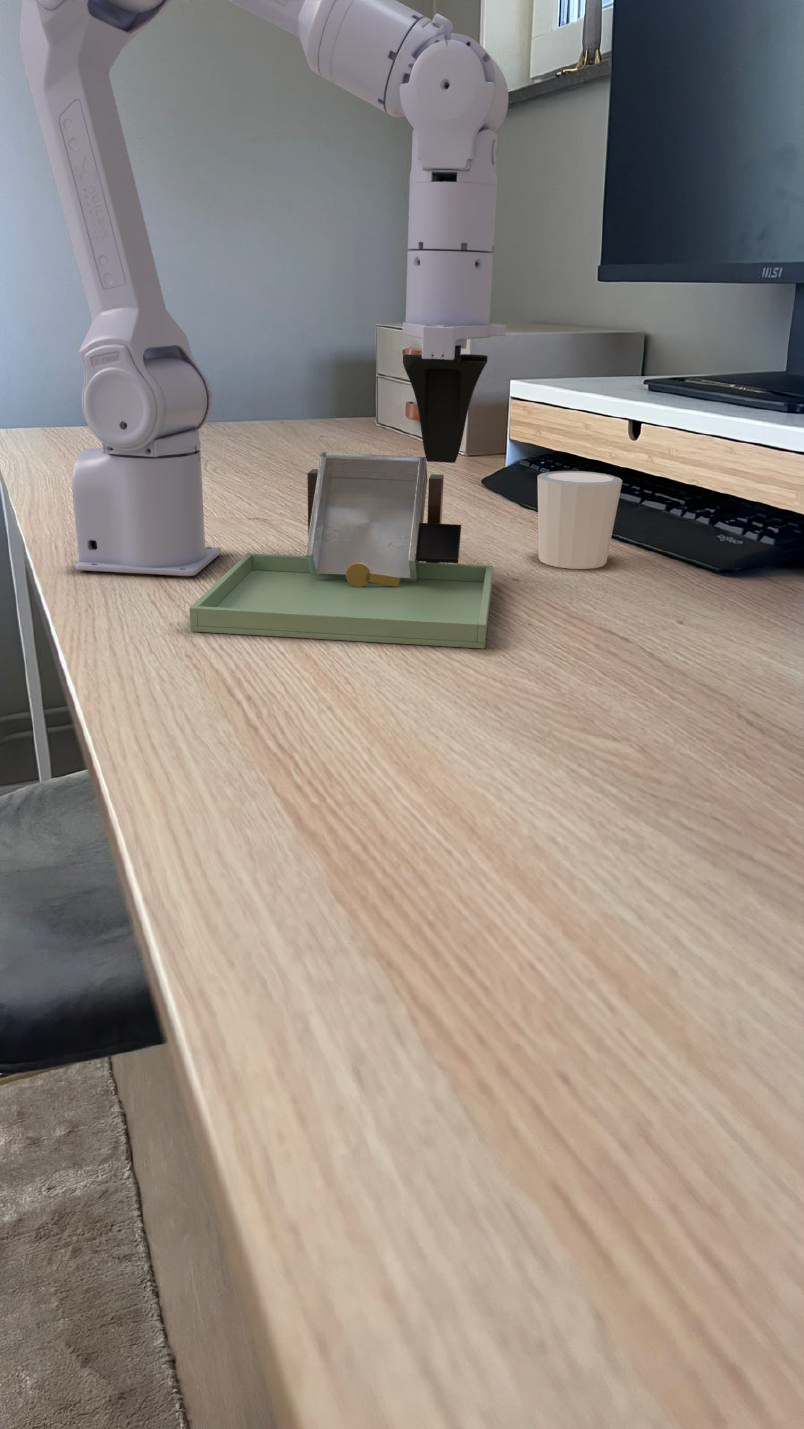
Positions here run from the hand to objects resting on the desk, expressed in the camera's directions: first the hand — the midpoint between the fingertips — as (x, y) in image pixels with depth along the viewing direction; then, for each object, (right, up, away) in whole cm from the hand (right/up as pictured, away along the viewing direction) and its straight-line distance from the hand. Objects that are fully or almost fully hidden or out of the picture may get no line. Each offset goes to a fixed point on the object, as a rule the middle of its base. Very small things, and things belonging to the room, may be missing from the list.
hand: (441, 461), depth 74 cm
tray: (-6, -11, -1) cm, 12 cm away
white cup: (+12, -5, +13) cm, 18 cm away
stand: (-5, -6, +9) cm, 12 cm away
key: (-5, -8, +2) cm, 10 cm away
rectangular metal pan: (-4, -4, +5) cm, 7 cm away
